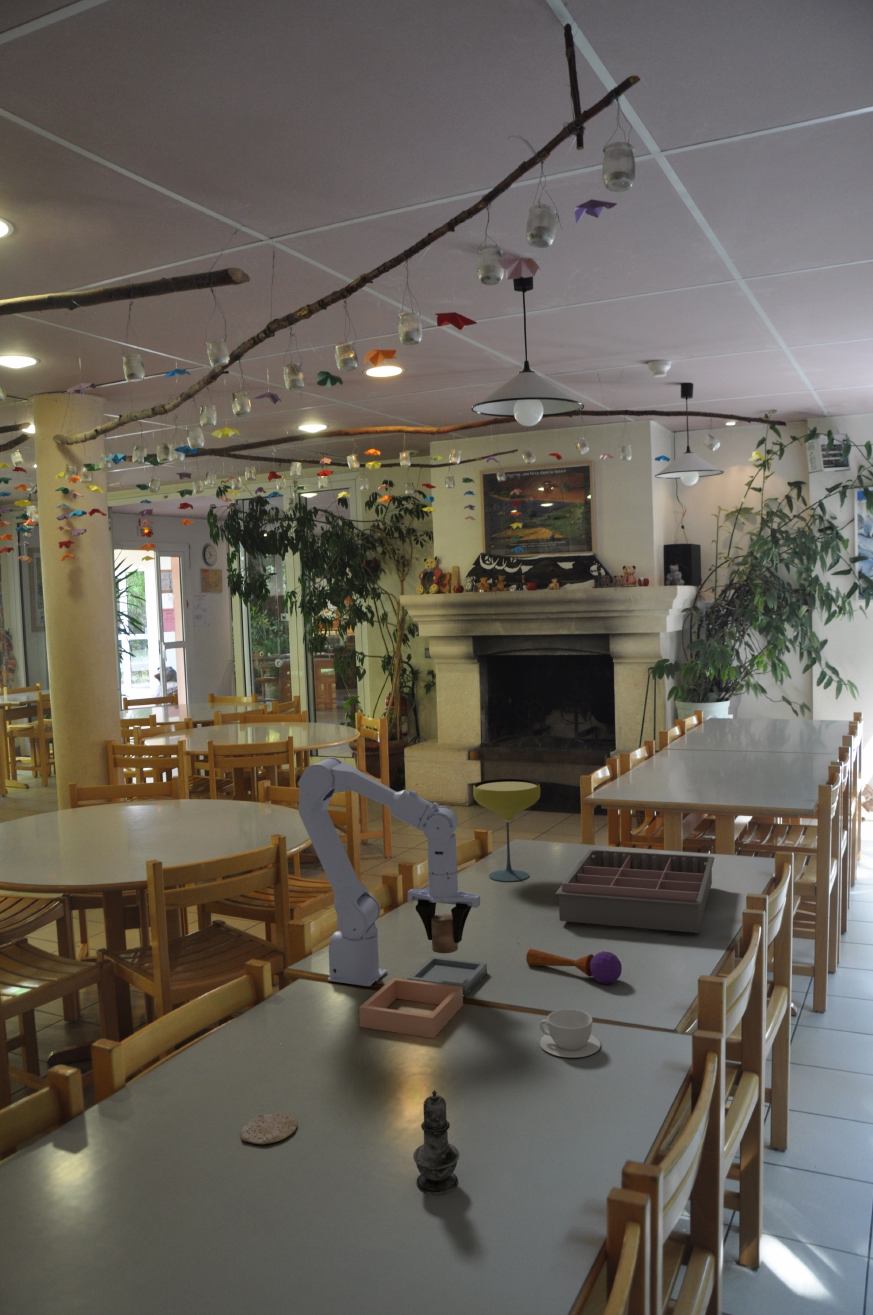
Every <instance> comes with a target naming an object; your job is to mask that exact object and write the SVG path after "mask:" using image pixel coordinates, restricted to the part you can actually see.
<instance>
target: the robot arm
mask: <svg viewBox="0 0 873 1315" xmlns="http://www.w3.org/2000/svg"><path fill="white" fill-rule="evenodd" d="M297 784H298V787H299V796H298V813H299V817H300V819H301V820H302V823H303V826H304V828H305V830H306V832H307V834H308V837H309V838H310V839H309V840H310V842H311V844H312V846H313V848H314V850H315V852H316V855H317V857H318V859H319V862H320V863H321V866H322V868H323V870H324V872H325V875H326V877H327V880H328V882H329V884H330V886H331V888H332V890H333V894H334V899H333V906H334V910H335V913H336V925H337V929H338V930H336V931H334V932H333V934H331V937H330V938H329V942H328V961H329V962H328V967H329V968H328V969H329V971H328V972H329V977H327V981H328V982H334V983H341V984H342V983H343V984H346V985H347V984H348V985H356V986H362V987H372V984H373V983H374V982H375V981H376V982H377V981H379V980H380V979H381V978H382V977H384V976H385V974H387V973H388V970H387V969H386V968H385V969H383V968H380V965H379V957H380V956H379V935H378V933H379V930H378V928H377V925H376V921H377V920H378V918H379V917H380V914H381V905H380V903H379V901H378V900H377V899H376V898H375V897H374V896H373V895H372V894H371V893H370V891H369V890H368V888H367V886H366V885H365V884H364V883H362V882H361V881H360V880H359V878H358V877H357V873H356V872H355V869H354V868H353V866H352V863H351V861H350V857H349V856H348V854H347V852H346V850H345V847H344V845H343V842H342V841H341V838H340V836H339V834H338V832H337V829H336V827H335V825H334V822H333V821H332V820H333V819H332V818H331V816H330V813H329V811H328V807H329V804H330V802H331V800H332V798H333V796H334V794H335V793H336V794H337V793H342V792H343V793H344V792H351V791H352V792H355V793H356V794H359V795H362V796H363V797H365V798H368V799H370V800H372V801H374V802H377V803H379V804H382V805H384V806H385V807H387V808H388V809H389V811H390V815H391V816H392V817H393V818H396V819H397V820H399V821H400V822H403V823H405V824H407V825H408V826H411V827H412V828H415V829H417V831H421V832H422V831H423V835H424V836H425V838H426V839H427V848H426V849H427V850H426V851H427V854H426V856H427V880H428V882H427V884H428V886H427V887H428V888H411V889H409V890H408V891H407V901H408V902H414V901H415V902H417V903H416V905H415V911H416V912H417V914H418V916H419V917H420V919H421V922H422V924H423V926H424V929H425V933H426V937H427V940H428V941H432V925H431V918H432V917H433V916H436V907H437V904H445V905H455V906H453V908H451V910H450V912H451V915H452V917H453V923H454V941H455V943H458V944H460V943H461V941H462V939H463V933H464V928H465V925H466V921H467V919H468V916H469V914H470V912H471V909H472V908H473V909H477V908H479V906H481V895H480V894H474V893H469V892H465V891H461V890H459V885H458V882H459V881H458V849H457V840H456V839H457V837H456V833H455V832H456V830H457V829H458V825H459V817H458V815H457V813H456V812H455V811H454V810H453V809H452V808H451V807H449V806H448V805H440V804H439V803H437V802H436V801H435V802H433V803H432V802H430V801H428V800H426V799H424V798H423V797H421V796H419V795H417V794H418V791H416V790H414V789H411V790H407V789H403V790H400V791H396V790H394V789H392V788H390V787H389V786H387V785H386V784H384V783H382V782H380V781H378V780H377V779H375V778H373V777H372V776H369V775H368V774H366V773H364V772H363V771H361V770H359V769H357V768H356V767H354V766H353V765H351V764H350V763H348V762H345V761H341V760H340V759H338V758H337V757H333V756H328V757H325V758H323V759H321V761H318V762H317V763H314V764H311V765H308V766H307V767H306V768H305V769H304V771H303V772H302V773H301V776H300V779H299V780H298V783H297ZM439 805H440V806H439ZM379 978H380V979H379ZM376 982H375V983H376ZM375 983H374V984H375Z"/></svg>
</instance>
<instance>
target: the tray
mask: <svg viewBox="0 0 873 1315" xmlns="http://www.w3.org/2000/svg"><path fill="white" fill-rule="evenodd" d="M487 973H488V964H487V962H483V961H482V962H480V961H472V960H465V959H456V958H448V957H440V956H433V955H432V956H430V957H428V959H426V961H424V962H423V963H422V964H421V965H420V966H419V967H418V968H416V969H415V971H413V972H412V973H411V974H410V975H409V976H407V978H406V979H407V980H415V981H423V982H430V983H438V984H445V985H453V986H460V987H462V989H463V995H464V996H463V997H467V996H468V995H469V993H470V992H471V991H472V990H473V989H474V988H475V987H476V986H477V985H478V983H480V981H481V980H482V979H483V978H484V977H485V976H486V975H487ZM485 974H486V975H485ZM484 975H485V976H484ZM483 976H484V977H483ZM482 977H483V978H482ZM481 978H482V979H481ZM480 979H481V980H480ZM477 982H478V983H477ZM475 985H476V986H475ZM474 986H475V987H474ZM473 987H474V988H473ZM472 988H473V989H472ZM471 989H472V990H471ZM470 990H471V991H470ZM469 991H470V992H469Z"/></svg>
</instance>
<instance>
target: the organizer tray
mask: <svg viewBox="0 0 873 1315" xmlns="http://www.w3.org/2000/svg"><path fill="white" fill-rule="evenodd" d="M714 861H715V857H714V856H709V855H692V854H691V855H690V854H689V855H688V854H677V853H676V854H675V853H658V852H657V853H654V852H640V851H639V852H637V851H624V850H623V851H622V850H605V849H604V850H602V849H589V850H588V852H586V854H585V855H584V856H583V858H582V859H581V860H580V861H579V862H578V864H576V866H575V867H574V869H573V870H572V871H571V873H570V874H568V877H567V878H566V879H565V880H564V882H562V883H561V885H560V887H559V888H558V889H557V891H556V892H555V895H557V896H558V906H559V907H558V909H559V910H558V911H559V922H568V923H569V922H570V923H579V924H594V925H605V926H613V927H615V926H616V927H628V928H642V929H651V930H662V931H664V930H665V931H672V932H673V931H674V932H686V933H700V929H701V925H702V921H703V918H704V914H705V911H706V907H707V903H708V899H709V896H710V893H711V892H710V891H711V888H712V885H713V876H712V874H713V873H712V871H713V870H712V868H713V866H714V865H713V864H714Z"/></svg>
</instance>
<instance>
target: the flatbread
mask: <svg viewBox="0 0 873 1315" xmlns="http://www.w3.org/2000/svg"><path fill="white" fill-rule="evenodd" d="M298 1124H299V1123H298V1120H297V1119H296V1118H294V1117H293V1116H291V1115H288V1114H286V1113H284V1112H276V1113H267V1114H266V1113H265V1114H262V1115H257V1116H255V1117H254V1118H252V1119H251V1120H249V1121H248V1122H247V1123H245V1125H243V1127H242V1128H241V1130H240V1136H241V1140H242V1142H245V1143H250V1144H255V1145H268V1144H273V1143H278V1142H280V1141H281V1142H282V1140H285V1139H287V1138H288V1137H289V1136H291V1135H292V1134H293V1133H295V1131H296V1130H297V1128H298Z"/></svg>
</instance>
